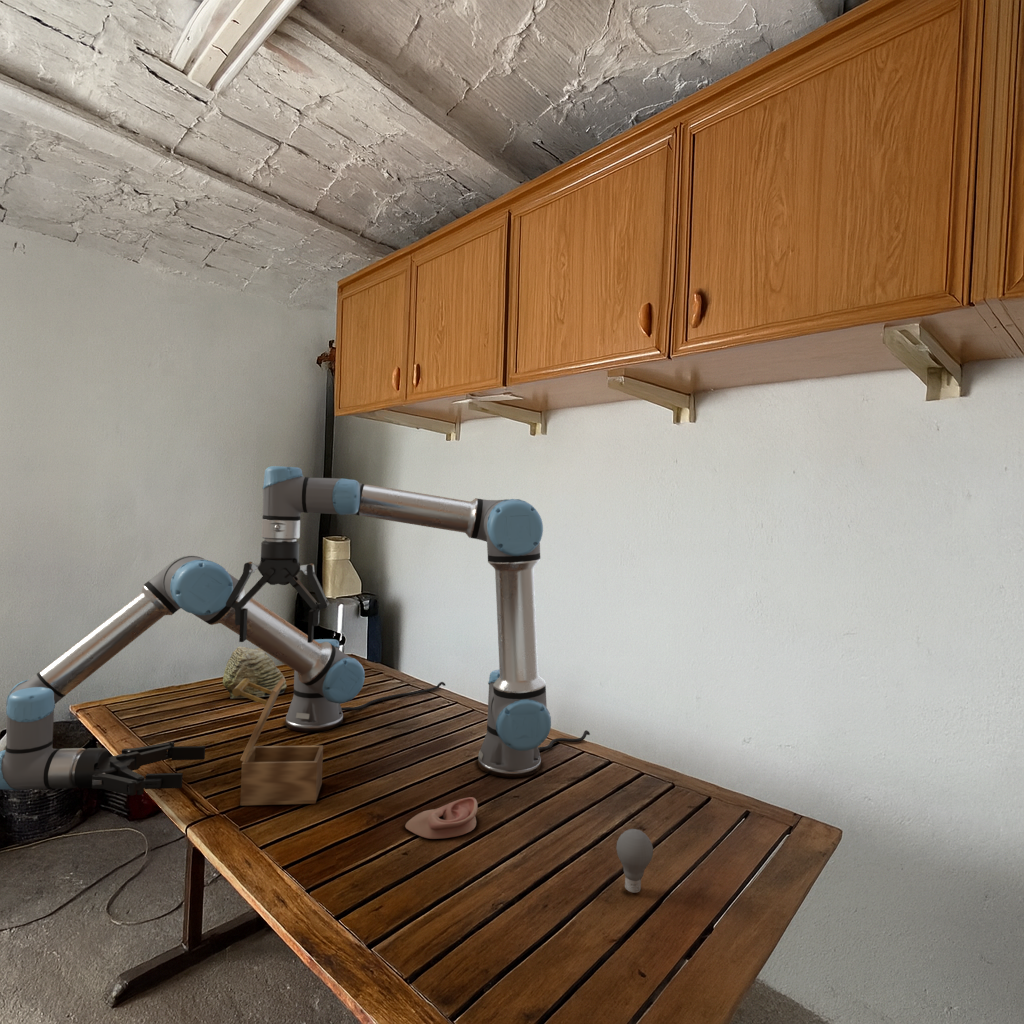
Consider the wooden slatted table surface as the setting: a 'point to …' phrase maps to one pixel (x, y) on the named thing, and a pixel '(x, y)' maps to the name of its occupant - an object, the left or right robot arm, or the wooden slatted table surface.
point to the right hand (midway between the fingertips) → (276, 641)
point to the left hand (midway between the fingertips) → (193, 765)
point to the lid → (267, 709)
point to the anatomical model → (445, 820)
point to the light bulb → (634, 857)
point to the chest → (282, 775)
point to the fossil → (251, 672)
